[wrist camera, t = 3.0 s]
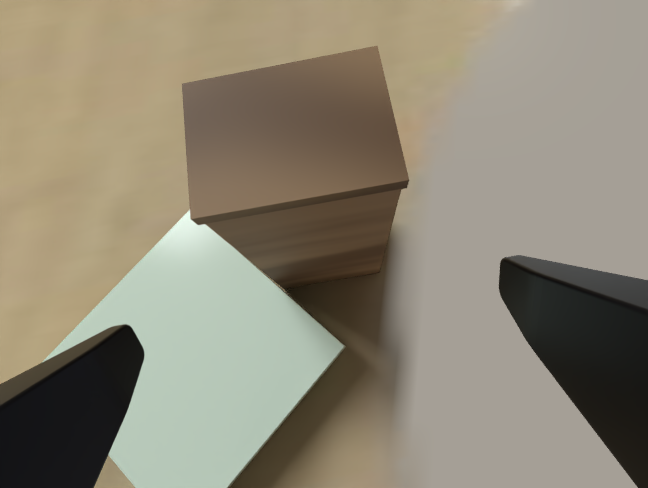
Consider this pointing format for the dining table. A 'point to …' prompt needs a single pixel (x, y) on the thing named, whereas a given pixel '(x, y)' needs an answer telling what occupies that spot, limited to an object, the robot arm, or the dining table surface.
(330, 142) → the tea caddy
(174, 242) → the plate
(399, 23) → the dining table surface
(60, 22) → the dining table surface
